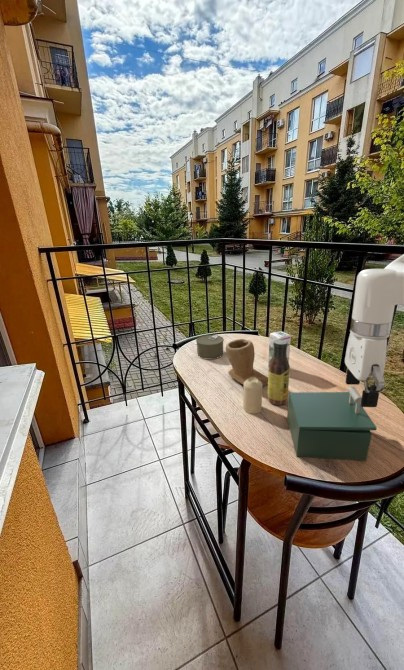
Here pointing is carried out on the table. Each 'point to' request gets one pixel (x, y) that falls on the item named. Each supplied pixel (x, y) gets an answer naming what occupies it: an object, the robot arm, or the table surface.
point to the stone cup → (243, 361)
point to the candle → (252, 395)
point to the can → (210, 346)
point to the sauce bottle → (278, 374)
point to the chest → (328, 441)
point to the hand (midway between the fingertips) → (359, 394)
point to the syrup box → (278, 336)
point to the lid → (330, 411)
